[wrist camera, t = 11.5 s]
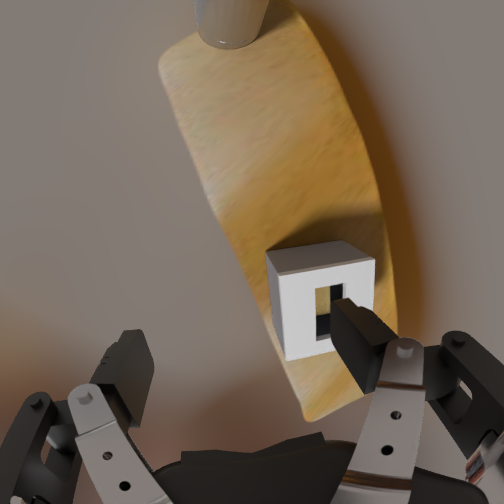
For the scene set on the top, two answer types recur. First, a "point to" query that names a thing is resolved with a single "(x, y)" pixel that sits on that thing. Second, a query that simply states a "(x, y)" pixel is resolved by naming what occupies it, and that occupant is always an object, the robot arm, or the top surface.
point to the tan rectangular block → (322, 300)
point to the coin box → (303, 291)
